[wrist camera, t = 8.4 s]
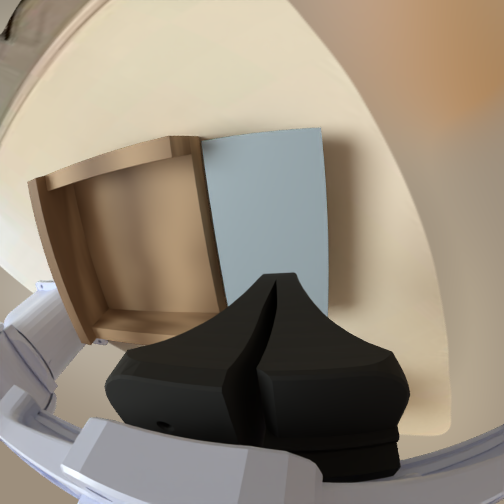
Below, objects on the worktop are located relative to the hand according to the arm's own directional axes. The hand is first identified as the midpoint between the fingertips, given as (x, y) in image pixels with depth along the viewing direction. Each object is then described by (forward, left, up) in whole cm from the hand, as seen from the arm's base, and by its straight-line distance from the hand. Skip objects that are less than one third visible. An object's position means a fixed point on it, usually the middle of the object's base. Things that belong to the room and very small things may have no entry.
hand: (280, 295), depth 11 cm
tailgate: (-4, 0, -7) cm, 9 cm away
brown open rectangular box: (-11, 0, -9) cm, 15 cm away
